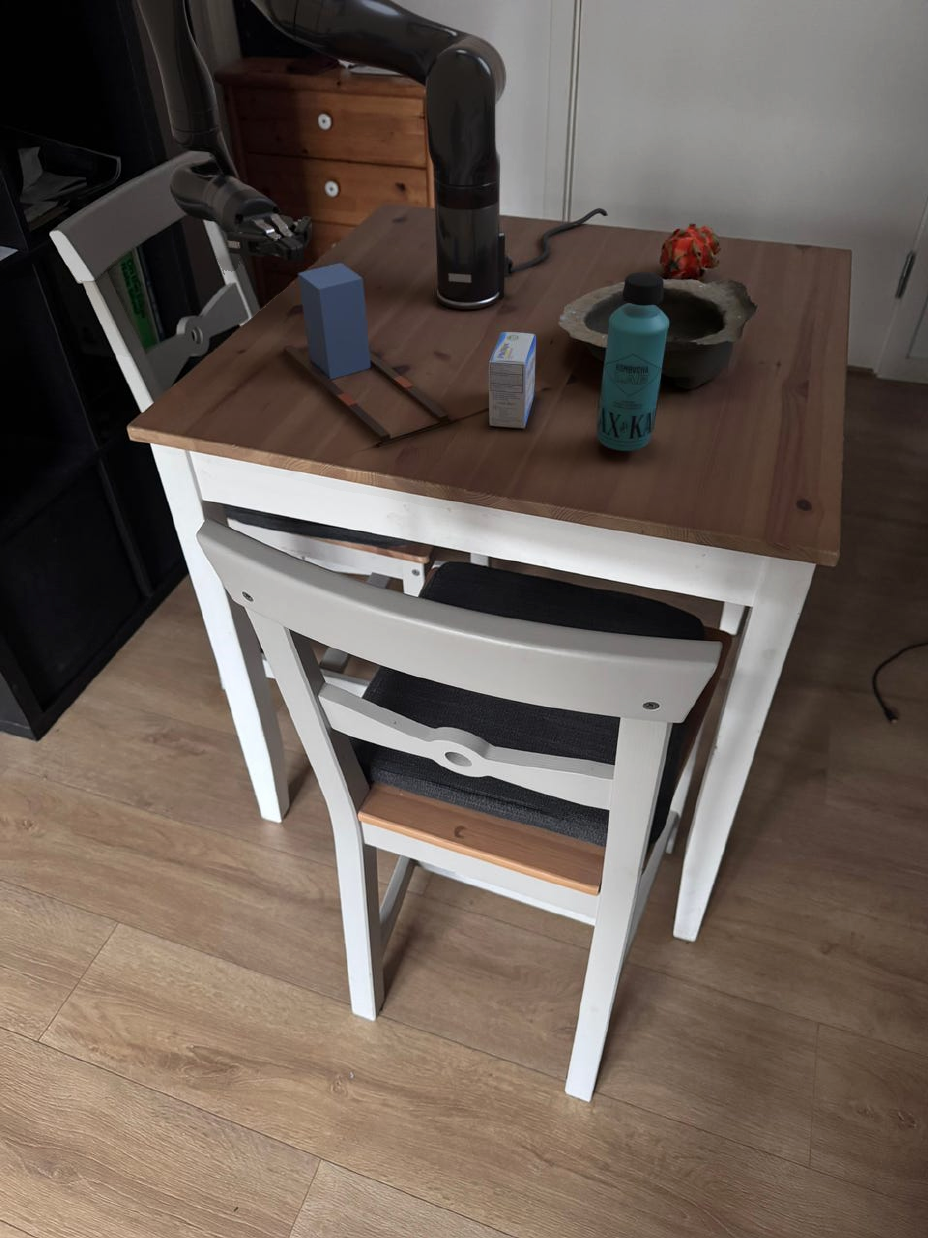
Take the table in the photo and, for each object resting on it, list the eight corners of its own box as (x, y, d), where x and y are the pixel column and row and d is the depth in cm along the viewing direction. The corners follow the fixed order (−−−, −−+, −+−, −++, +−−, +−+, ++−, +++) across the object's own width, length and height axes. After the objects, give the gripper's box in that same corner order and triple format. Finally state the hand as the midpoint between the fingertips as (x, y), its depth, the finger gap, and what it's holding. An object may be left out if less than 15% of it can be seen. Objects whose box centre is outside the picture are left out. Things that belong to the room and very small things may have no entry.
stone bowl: (775, 398, 111) (786, 328, 105) (575, 422, 111) (574, 353, 105) (719, 312, 129) (727, 247, 123) (547, 332, 129) (545, 269, 123)
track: (347, 338, 126) (346, 328, 125) (451, 422, 109) (451, 412, 108) (282, 356, 123) (280, 346, 122) (379, 447, 105) (378, 436, 104)
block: (350, 351, 122) (341, 262, 114) (371, 368, 118) (362, 277, 110) (310, 362, 120) (297, 272, 112) (330, 380, 116) (318, 288, 108)
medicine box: (524, 430, 107) (527, 362, 101) (488, 426, 108) (488, 359, 102) (534, 398, 113) (537, 332, 107) (499, 395, 114) (500, 329, 108)
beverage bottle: (589, 435, 106) (604, 265, 93) (644, 432, 106) (668, 262, 93) (600, 465, 101) (618, 291, 88) (657, 461, 102) (684, 288, 88)
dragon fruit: (709, 276, 145) (669, 310, 139) (674, 236, 144) (632, 269, 139) (743, 242, 137) (702, 277, 132) (706, 199, 137) (663, 233, 131)
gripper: (196, 196, 123) (245, 235, 112) (285, 180, 128) (340, 215, 117) (207, 252, 128) (254, 294, 117) (292, 234, 133) (345, 272, 122)
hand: (297, 254), depth 117 cm, fingers closed
